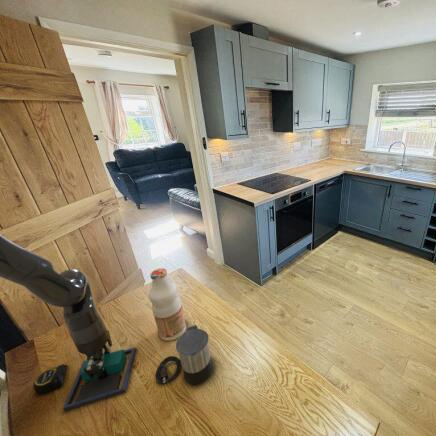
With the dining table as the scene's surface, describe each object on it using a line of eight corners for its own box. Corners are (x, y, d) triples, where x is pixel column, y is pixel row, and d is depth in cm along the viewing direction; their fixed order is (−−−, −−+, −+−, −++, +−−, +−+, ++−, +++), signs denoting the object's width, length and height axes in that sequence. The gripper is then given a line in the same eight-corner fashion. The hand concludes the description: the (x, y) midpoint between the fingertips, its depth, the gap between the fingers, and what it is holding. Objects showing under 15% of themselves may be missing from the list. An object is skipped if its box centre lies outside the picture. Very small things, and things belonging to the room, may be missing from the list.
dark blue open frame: (65, 412, 66) (62, 408, 65) (86, 365, 79) (83, 361, 78) (126, 393, 71) (124, 389, 70) (136, 351, 84) (134, 347, 83)
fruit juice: (155, 342, 87) (136, 281, 75) (166, 321, 96) (151, 264, 84) (181, 342, 87) (166, 281, 76) (190, 321, 96) (178, 264, 84)
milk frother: (218, 374, 77) (213, 342, 71) (166, 410, 67) (155, 377, 61) (201, 344, 86) (195, 314, 80) (153, 372, 77) (143, 340, 71)
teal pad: (85, 383, 73) (80, 373, 71) (91, 368, 77) (86, 358, 75) (123, 372, 76) (119, 362, 74) (127, 358, 81) (123, 349, 79)
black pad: (76, 405, 67) (74, 402, 67) (83, 388, 72) (81, 384, 71) (117, 392, 71) (116, 389, 70) (121, 376, 75) (120, 373, 74)
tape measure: (63, 389, 72) (58, 381, 70) (32, 400, 69) (27, 392, 67) (69, 369, 77) (65, 361, 76) (41, 379, 74) (36, 371, 73)
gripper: (83, 317, 75) (100, 353, 82) (61, 357, 62) (83, 396, 69) (111, 311, 77) (125, 347, 84) (96, 348, 65) (114, 387, 72)
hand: (106, 369), depth 77 cm, fingers closed on teal pad, 5 cm apart
